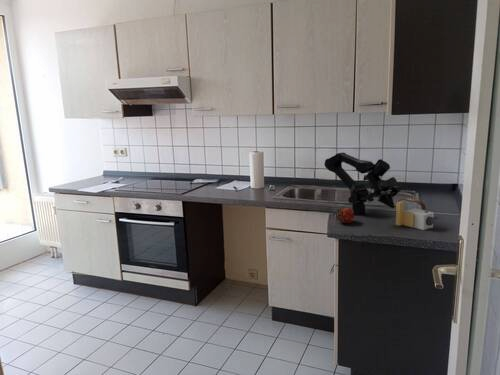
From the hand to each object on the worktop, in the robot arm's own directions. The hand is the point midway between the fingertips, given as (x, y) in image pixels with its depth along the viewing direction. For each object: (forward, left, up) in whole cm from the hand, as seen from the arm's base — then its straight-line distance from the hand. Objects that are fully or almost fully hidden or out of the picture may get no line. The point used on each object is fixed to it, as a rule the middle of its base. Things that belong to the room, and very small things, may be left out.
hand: (393, 207), depth 186 cm
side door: (+3, -5, -8) cm, 10 cm away
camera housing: (+10, -6, -8) cm, 14 cm away
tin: (+14, +14, -8) cm, 22 cm away
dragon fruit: (-22, +5, -8) cm, 24 cm away
